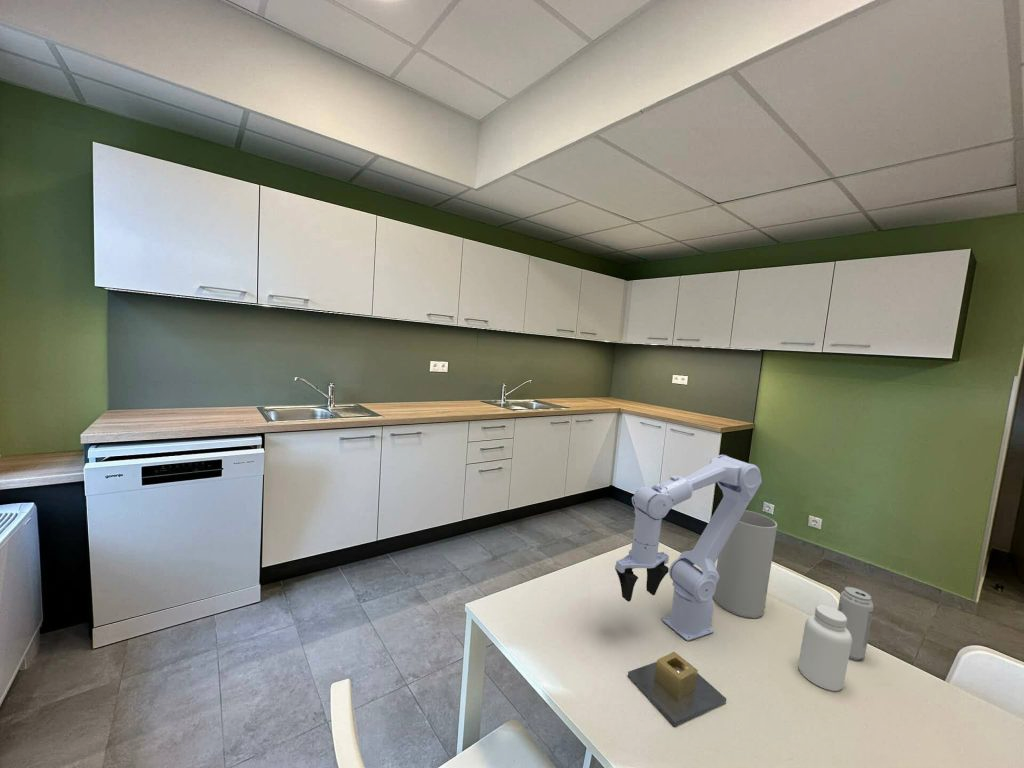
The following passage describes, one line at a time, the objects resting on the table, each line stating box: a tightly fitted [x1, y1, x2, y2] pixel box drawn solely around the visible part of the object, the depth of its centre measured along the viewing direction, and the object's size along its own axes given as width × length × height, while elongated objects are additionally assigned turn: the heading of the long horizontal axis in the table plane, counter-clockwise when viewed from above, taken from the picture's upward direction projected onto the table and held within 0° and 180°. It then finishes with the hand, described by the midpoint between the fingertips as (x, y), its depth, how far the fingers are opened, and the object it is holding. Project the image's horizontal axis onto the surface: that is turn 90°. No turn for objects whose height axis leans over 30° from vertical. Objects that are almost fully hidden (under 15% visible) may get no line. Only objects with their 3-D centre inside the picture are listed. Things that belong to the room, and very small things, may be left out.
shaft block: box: [627, 661, 727, 728], centre depth 80 cm, size 14×12×4 cm
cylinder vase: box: [712, 509, 778, 619], centre depth 111 cm, size 12×12×25 cm
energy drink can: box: [837, 586, 874, 661], centre depth 96 cm, size 6×6×15 cm
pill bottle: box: [797, 604, 852, 692], centre depth 87 cm, size 8×8×15 cm
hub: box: [655, 651, 699, 699], centre depth 80 cm, size 5×5×4 cm
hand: (638, 595), depth 94 cm, fingers open, 7 cm apart
